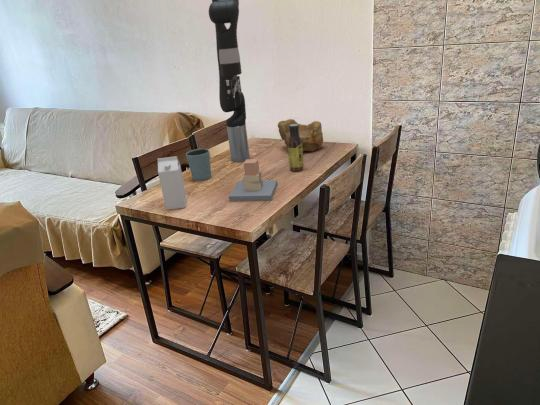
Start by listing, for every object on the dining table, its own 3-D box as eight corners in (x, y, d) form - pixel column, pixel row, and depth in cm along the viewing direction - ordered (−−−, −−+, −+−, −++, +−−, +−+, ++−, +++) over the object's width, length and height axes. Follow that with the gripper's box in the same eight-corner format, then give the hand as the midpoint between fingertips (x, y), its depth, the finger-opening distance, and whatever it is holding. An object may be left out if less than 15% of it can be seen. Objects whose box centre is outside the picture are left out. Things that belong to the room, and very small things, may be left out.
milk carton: (168, 202, 156) (158, 155, 148) (187, 200, 156) (178, 153, 148) (166, 210, 149) (155, 161, 142) (185, 208, 149) (175, 159, 142)
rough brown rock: (271, 156, 202) (269, 127, 195) (282, 144, 216) (280, 117, 209) (316, 159, 194) (315, 129, 187) (324, 146, 208) (323, 118, 201)
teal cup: (217, 174, 181) (213, 149, 176) (204, 182, 173) (199, 156, 168) (199, 173, 186) (195, 148, 181) (185, 180, 178) (180, 154, 173)
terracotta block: (247, 171, 156) (246, 159, 154) (259, 171, 155) (257, 159, 154) (244, 175, 152) (243, 163, 150) (256, 175, 151) (255, 162, 149)
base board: (239, 185, 166) (238, 181, 165) (277, 184, 163) (277, 180, 162) (229, 201, 151) (228, 196, 151) (271, 200, 148) (270, 195, 148)
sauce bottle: (302, 171, 174) (300, 126, 167) (288, 172, 176) (285, 127, 168) (304, 166, 180) (302, 122, 172) (290, 167, 182) (287, 123, 174)
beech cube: (247, 185, 160) (246, 170, 157) (262, 184, 159) (261, 170, 156) (244, 190, 154) (242, 176, 152) (259, 190, 153) (258, 175, 151)
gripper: (235, 62, 141) (240, 109, 147) (244, 59, 154) (248, 102, 160) (214, 64, 142) (221, 110, 149) (225, 60, 155) (230, 103, 162)
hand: (235, 106), depth 155 cm, fingers open, 8 cm apart
